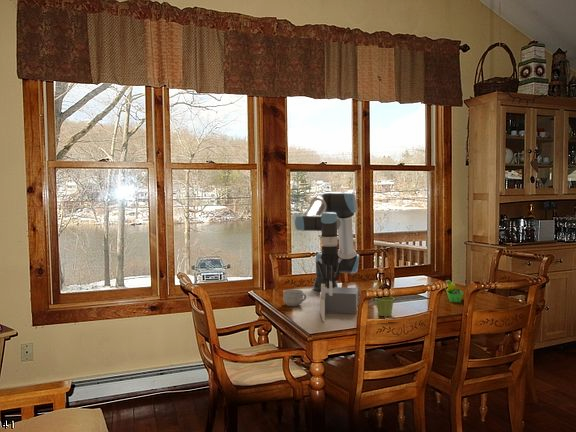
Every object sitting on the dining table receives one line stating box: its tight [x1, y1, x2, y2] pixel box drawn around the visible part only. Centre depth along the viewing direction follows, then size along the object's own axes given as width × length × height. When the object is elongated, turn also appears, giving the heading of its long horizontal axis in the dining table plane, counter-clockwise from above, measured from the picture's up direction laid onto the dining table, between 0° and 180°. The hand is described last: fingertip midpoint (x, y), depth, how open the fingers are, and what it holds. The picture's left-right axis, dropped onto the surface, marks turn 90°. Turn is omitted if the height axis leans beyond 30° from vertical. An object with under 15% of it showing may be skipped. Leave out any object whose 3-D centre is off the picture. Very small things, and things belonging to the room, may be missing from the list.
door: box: [319, 284, 326, 322], centre depth 225 cm, size 2×17×17 cm, turn 0°
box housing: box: [325, 286, 359, 315], centre depth 239 cm, size 14×18×10 cm
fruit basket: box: [445, 279, 464, 303], centre depth 255 cm, size 11×9×11 cm
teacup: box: [282, 289, 307, 307], centre depth 248 cm, size 14×11×8 cm
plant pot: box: [374, 296, 395, 318], centre depth 226 cm, size 9×9×9 cm
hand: (330, 295), depth 219 cm, fingers closed
